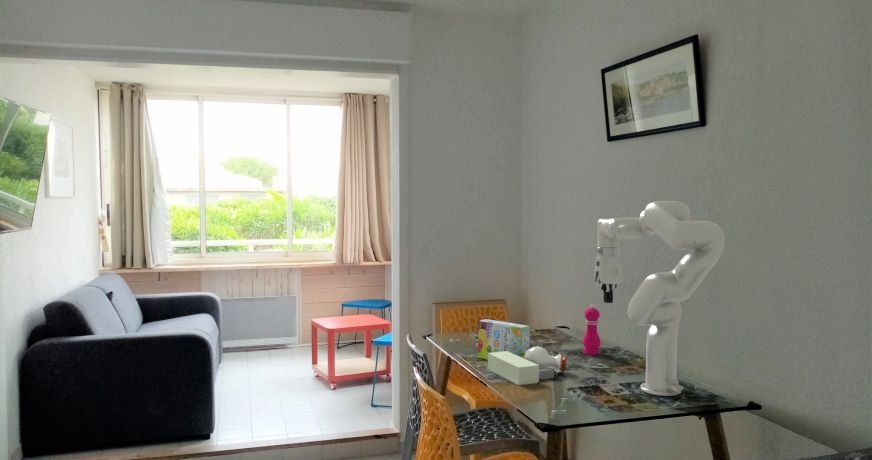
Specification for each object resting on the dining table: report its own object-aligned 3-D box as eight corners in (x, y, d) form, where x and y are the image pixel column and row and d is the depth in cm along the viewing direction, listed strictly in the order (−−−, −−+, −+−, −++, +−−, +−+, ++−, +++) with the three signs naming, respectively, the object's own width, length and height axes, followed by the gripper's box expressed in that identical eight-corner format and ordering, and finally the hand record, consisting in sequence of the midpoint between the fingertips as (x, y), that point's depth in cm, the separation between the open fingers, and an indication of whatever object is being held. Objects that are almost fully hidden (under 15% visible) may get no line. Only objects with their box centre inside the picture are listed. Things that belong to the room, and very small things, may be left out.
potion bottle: (520, 374, 232) (562, 380, 231) (523, 364, 224) (566, 371, 223) (523, 350, 237) (563, 356, 236) (526, 340, 229) (567, 346, 228)
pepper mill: (601, 355, 255) (601, 306, 255) (582, 354, 257) (583, 305, 256) (600, 351, 263) (600, 303, 262) (582, 350, 264) (582, 302, 263)
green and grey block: (558, 380, 220) (558, 363, 220) (518, 385, 214) (518, 367, 214) (525, 364, 240) (525, 349, 240) (487, 369, 234) (487, 353, 234)
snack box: (530, 365, 241) (530, 325, 240) (521, 367, 236) (521, 327, 236) (486, 355, 255) (486, 318, 254) (477, 358, 251) (477, 320, 250)
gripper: (598, 253, 226) (599, 305, 226) (631, 252, 232) (631, 302, 233) (585, 252, 232) (585, 302, 233) (616, 251, 239) (616, 300, 239)
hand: (608, 302), depth 233 cm, fingers closed
